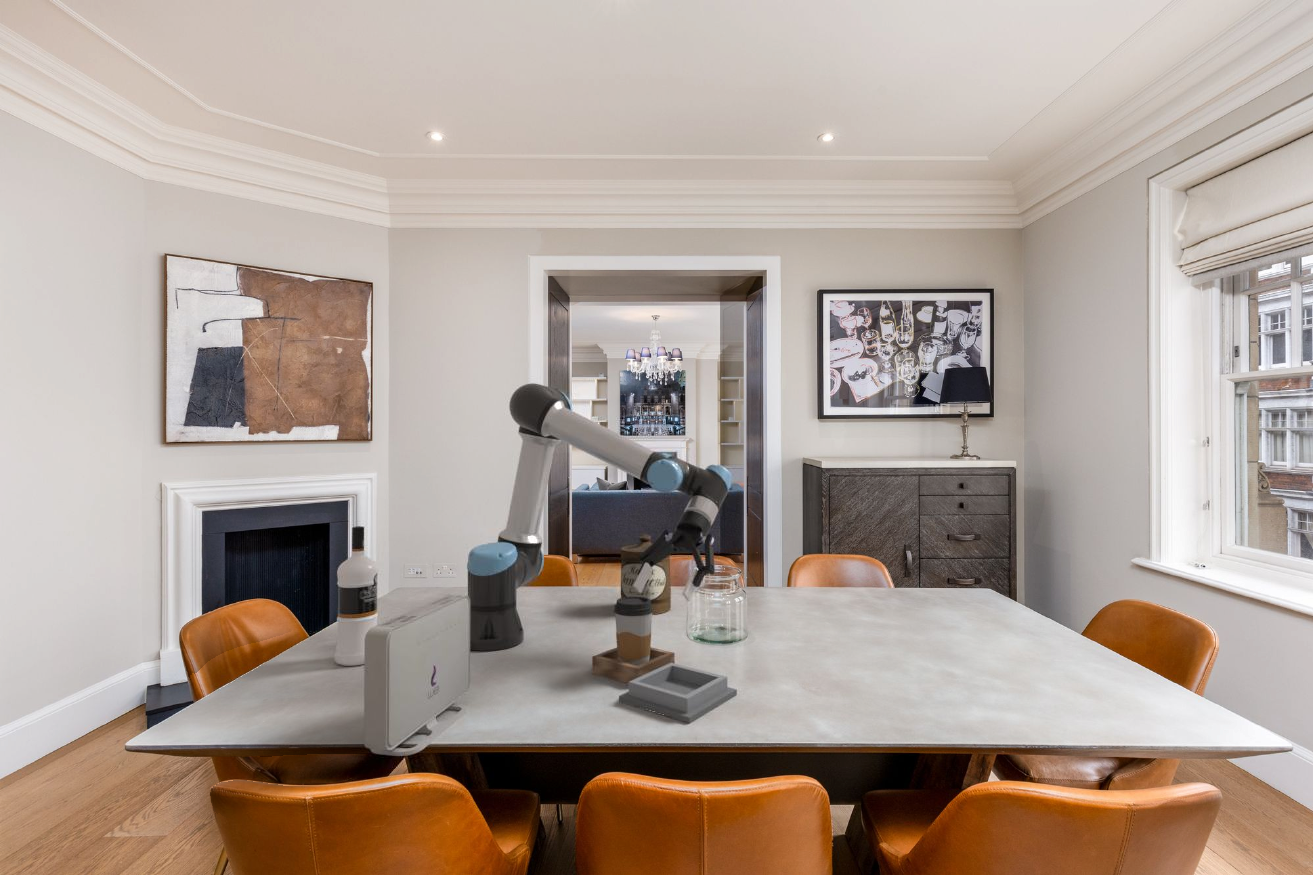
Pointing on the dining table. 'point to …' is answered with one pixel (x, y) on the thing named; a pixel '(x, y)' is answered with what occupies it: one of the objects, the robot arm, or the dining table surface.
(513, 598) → the robot arm
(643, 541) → the wooden container
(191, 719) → the dining table surface
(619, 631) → the coffee cup
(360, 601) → the vodka
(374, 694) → the network device
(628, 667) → the walnut holder
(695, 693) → the dock pad
